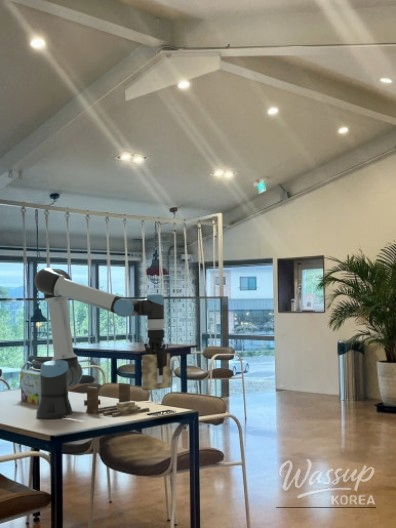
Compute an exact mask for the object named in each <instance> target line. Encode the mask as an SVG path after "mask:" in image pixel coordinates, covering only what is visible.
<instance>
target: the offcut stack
mask: <svg viewBox="0 0 396 528" xmlns="http://www.w3.org/2000/svg"><path fill="white" fill-rule="evenodd" d="M115 405H116V407H118V410H116V413H119V412H125V411H131V410H138V407H139V406H138V405H139V404H136V402H135V401H131V400H130V401H128V402H120V403H119V402H116V404H115Z"/></svg>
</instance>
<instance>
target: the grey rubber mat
mask: <svg viewBox="0 0 396 528" xmlns="http://www.w3.org/2000/svg"><path fill="white" fill-rule="evenodd" d="M174 411H175V410H173V409H166V410H160V411H156V412H150V413H149V412H148V413H146V414H147V415H146V416H150V415H157V416H159V415H158V414H161V412H162V415H164V414H163V413H164V412H166V413H168V412H173V413H175V412H174ZM168 414H169V413H168Z"/></svg>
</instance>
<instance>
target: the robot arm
mask: <svg viewBox="0 0 396 528" xmlns="http://www.w3.org/2000/svg"><path fill="white" fill-rule="evenodd" d="M33 281H34V285H35V288H36V290H38V291H39V293H41V294H43V298H44V301H46V303H47V304H48V310H49V311H48V312H49V319H50V327H51V328H50V329H51V337H52V345H53V353H54V355H53V356H52V358H51V360H49V361H44V362H43V363H41V365H40V371H39V372H40V374H41V399H40V402H39V405H37V410H36V414H35V415H36V418H37V419H42V420H43V419H44V420H46V419H47V420H53V419H65V418H67V417H68V416H70V415H72V414H73V409H72V405H71V401H70V398H69V388H72V387H75V386H77V384H79V382H80V381H81V379H82V377H83V368H82V365H81V364H80V363H79V359H78V355H77V354H76V353H74V346H73V337H72V331H71V330H72V329H71V323H70V322H71V321H70V315H69V314H70V312H69V303H68V301H69V299H70V300H74V301H77V302H79V303H83V304H86V305H88V306H92V307H94V308H98V309H101V310H104V311H107V312H110V313H113V314H116V315H117V316H118V317H120V318H126V317H129V318H130V317H142V316H143V317H146V321H147V323H146V324H147V325H146V328H147V338H148V342H147V343H144V344H143V347H144V349H145V355H152V354H157V362H158V367H157V383H163V368H164V367H165V366H167V353H168V348H169V344H168V343H165V341H164V338H165V329H164V328H165V301H164V295H163V294H161V293H160V294H159V293H158V294H157V293H155V294H147V295H146V298H142V299H141V298H140V299H139V298H137V299H136V298H135V299H134V298H133V299H131V298H125V297H122V296H119V295H117V294H114V293H109V292H107V291H104V290H100V289H98V288H95V287H91V286H89V285H86V284H82V283H80V282H77V281H73V280H72V277H71V275H70V274H69V273H68V272H67V271H65V270H62V269H61V268H52V267H45V268H42V269H40V270H38V272H36V274H35V276H34V280H33Z"/></svg>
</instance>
